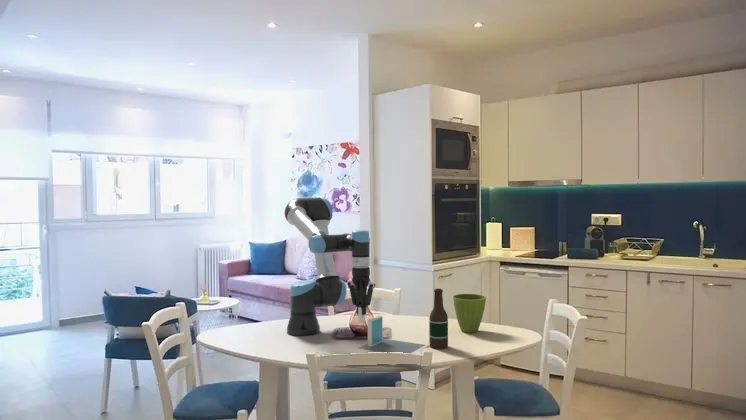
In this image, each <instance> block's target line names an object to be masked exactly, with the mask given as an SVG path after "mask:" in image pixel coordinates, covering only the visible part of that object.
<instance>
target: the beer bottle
mask: <svg viewBox="0 0 746 420" xmlns="http://www.w3.org/2000/svg"><path fill="white" fill-rule="evenodd" d="M433 292H434V297H433V299H434V300H433V308H432V310H431V311H430V314H429V318H428V319H429V322H428V323H429V325H428V326H429V328H428V329H429V330H428V332H429V333H428V334H429V336H428V337H429V338H428V340H429V342H428V343H429V348H431V349H433V350H445V349H447V348H448V345H449V317H448V313H447V311H446V310H445V307H444V299H443V292H444V290H443V289H442V288H434V290H433Z"/></svg>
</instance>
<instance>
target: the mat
mask: <svg viewBox="0 0 746 420" xmlns="http://www.w3.org/2000/svg"><path fill="white" fill-rule="evenodd" d="M425 346H426V344H423V343H422V344H421V343H414V342H409V341H403V340H401V341H400V340H395V339H394V340H393V339H389V338H383V342H381V343H379V344H376V345H374V346H372V347H370V346H368V343H366V344H363V345H361V346H359V347H358V349H360V350H366V351H367V350H368V351H371V352H378V353H379V352H380V353H384V352H403V353H410V354H412V353H414V352H415V351H417V350H419V349H421V348H424V347H425Z"/></svg>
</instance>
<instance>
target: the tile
mask: <svg viewBox="0 0 746 420" xmlns="http://www.w3.org/2000/svg"><path fill="white" fill-rule="evenodd" d="M383 322H384V320H383V315H377V316H374V317H371V318H368V319H367V344H368V346H370V347H372V346H374V345H376V344H379V343H381V342H383V339H384V335H383V332H384V331H383V330H384V329H383V325H384V324H383Z"/></svg>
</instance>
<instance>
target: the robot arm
mask: <svg viewBox="0 0 746 420" xmlns="http://www.w3.org/2000/svg"><path fill="white" fill-rule="evenodd" d="M333 213H334V211H333V207H332V204H331V202H330V201H329V200H328V199H327V198H324V197H298V198H294V199H292V200H291V201H289V202H288V203H287V204H286V206H285V208H284V217H285V219H286V221H287V222H288V224H289V225H291V226H294V227H295V228H296V229H297V230H298V231H299V232H300V233H301V234H302V235H303V236H304V238H305V239H306V240H308V248H309V251H310V252H311V253H312V254H314V259H315V267H316V271H317V277H316V278H315V280H313V279H307V280H306V279H305V280H299V281H296V282H294V283H292V284H291V285H290V289H289V290H290V293H289V299H290V300H289V301H290V302H289V303H290V305H289V306H290V307H289V308H290V316H289V321H288V322H287V326H286V327H287V328H286V333H287V334H288V335H290V336H299V337H300V336H301V337H302V336H313V335H316V334H319V333H320V332H321V326H320V324H319V320H318V317H317V313H316V311H317V309H318V308H326V307H335V306H340V305H342V304H343V303H344V302H345V301H346V297H347V286H348V288H349V293H350V297H351V302H352V305H353V306H356V314H357V318H358V323H359V324H360V323H361V324H363V323H365V322H366V314H367V307H369V306H370V305H371V302H372V299H373V294H374V293H373V292H374V289H375V287H376V284H375V283H373V282H371V279H370V276H371V270H370V269H371V268H370V266H371V264H370V263H371V262H370V261H371V260H370V253H371V252H370V251H371V250H370V247H371V246H370V244H371V242H370V239H371V238H370V232H369V230H366V229H359V230H358V229H357V230H352V231H351V233H342V234H329V233H330V232H329V228H328V227H329V226H330V223H331V221H332V218H333ZM341 252H342V253H343V252H351V267H352V269H351V275H352V278H351V281H349V282H347V283H346V282H345V280H342V279H340V275H339V274H337V272H336V268H335V263H334V262H335V261H334V257H333V253H341ZM346 284H347V285H346Z"/></svg>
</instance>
